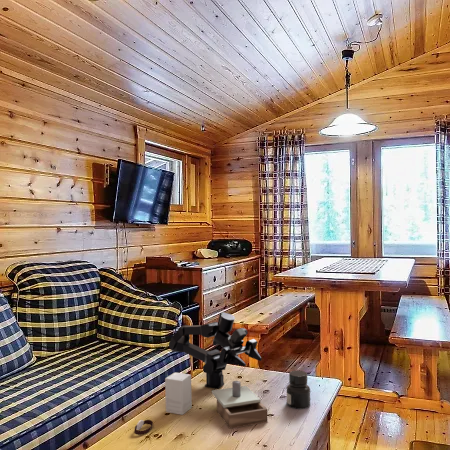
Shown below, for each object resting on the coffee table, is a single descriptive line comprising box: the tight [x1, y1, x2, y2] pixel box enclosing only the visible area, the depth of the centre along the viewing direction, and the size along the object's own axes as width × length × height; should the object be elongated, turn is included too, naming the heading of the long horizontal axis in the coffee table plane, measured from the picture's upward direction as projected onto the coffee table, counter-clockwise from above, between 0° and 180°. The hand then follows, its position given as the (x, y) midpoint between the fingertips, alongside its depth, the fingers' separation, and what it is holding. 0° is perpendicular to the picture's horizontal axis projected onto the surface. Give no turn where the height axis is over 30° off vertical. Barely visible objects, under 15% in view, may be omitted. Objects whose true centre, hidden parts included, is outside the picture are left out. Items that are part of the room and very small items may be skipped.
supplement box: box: [164, 372, 193, 416], centre depth 169 cm, size 7×7×13 cm
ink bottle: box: [286, 370, 311, 410], centre depth 172 cm, size 10×9×12 cm
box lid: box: [211, 380, 262, 408], centre depth 168 cm, size 14×14×6 cm
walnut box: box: [216, 399, 269, 429], centre depth 162 cm, size 14×14×4 cm
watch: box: [133, 419, 154, 436], centre depth 153 cm, size 8×5×4 cm, turn 150°
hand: (253, 362), depth 176 cm, fingers open, 9 cm apart
